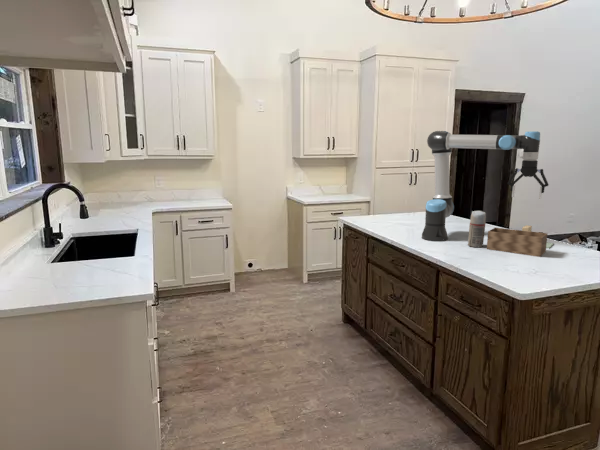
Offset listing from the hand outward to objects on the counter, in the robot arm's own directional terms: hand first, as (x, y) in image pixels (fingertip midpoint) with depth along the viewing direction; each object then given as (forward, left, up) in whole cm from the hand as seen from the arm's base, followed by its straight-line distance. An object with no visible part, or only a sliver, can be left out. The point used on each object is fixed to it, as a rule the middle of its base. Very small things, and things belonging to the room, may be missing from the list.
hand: (526, 197), depth 232 cm
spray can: (-18, -22, -27) cm, 39 cm away
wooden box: (+2, -19, -26) cm, 33 cm away
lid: (+1, +2, -27) cm, 27 cm away
